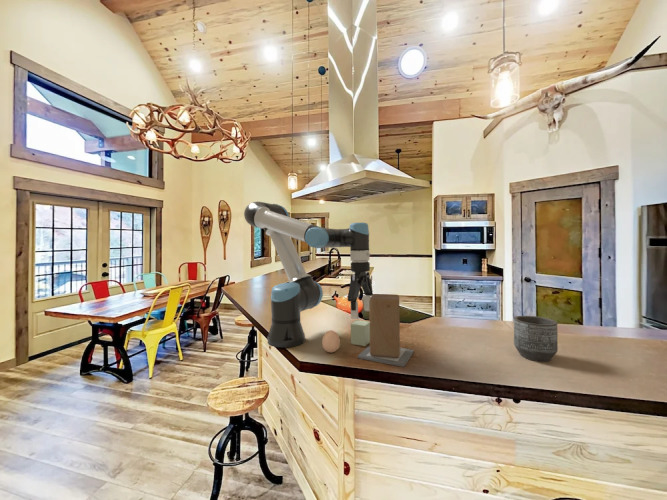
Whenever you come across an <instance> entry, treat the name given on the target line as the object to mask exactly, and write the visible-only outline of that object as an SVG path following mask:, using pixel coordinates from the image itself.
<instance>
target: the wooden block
mask: <svg viewBox="0 0 667 500" xmlns="http://www.w3.org/2000/svg"><path fill="white" fill-rule="evenodd" d="M370 296H371V298H370V300H369V311H368V312H369V313H368V314H369V322H370V343H369V345H370V354H371V355H372V356H381V357H394V358H397V357H399V355H400V348H401V344H400V343H401V341H400V340H401V337H400V336H401V334H400V333H401V331H400V323H401V322H400V296H399V295H398V294H389V293H388V294H386V293H385V294H384V293H380V294H379V293H373V295H370Z"/></svg>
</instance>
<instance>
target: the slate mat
mask: <svg viewBox="0 0 667 500" xmlns="http://www.w3.org/2000/svg"><path fill="white" fill-rule="evenodd" d="M413 354H414V349H409V348H404V347H400V355H399V357H397V358H394V357H381V356H372V355H371V354H370V344H368V345H367V346H366V348H365V349H364V350H362V351H361V352H360V353H359V354H358V355H357V359H359V360H367V361H371V362H375V363H381V364H386V365H391V366H397V367H401V368H405V366H406V365H407V363H408V362H409V360H410V359H411V357H412V355H413Z"/></svg>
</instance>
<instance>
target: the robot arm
mask: <svg viewBox="0 0 667 500" xmlns="http://www.w3.org/2000/svg"><path fill="white" fill-rule="evenodd" d="M243 217H244V219H245V221H246V223H247V224H248V225H250V226H252V227H254V228H258V229H263V230H264V232H265V235H266V236H269V237H270V239H271V241H272V244H273V246H274V248H275V251H276V253H277V255H278V258H279V260H280V262H281V265H282V267H283V270H284V272H285V274H286V277H287V279H288V282H284V283H283V282H282V283H279V284H276V285H274V286H272V289H271V295H270V304H271V311H270V312H271V325H270V328H269V332H268V335H267V344H268V345H269V346H271V347H274V348H292V347H297V346H300V345H302V344H303V343H304V342H306V341H305V340H306V335H305V332H304V327H303V326H302V322H301V312H303V311H306V310H311V309H314V308H315V307H317V306H318V305H320V303H321V302H322V300H323V296H324V292H323V288H322V286H321V285H320V283H318V282H316V281H315V280H314V279H313V277H312V275H311V274H309V273H307V272H306V269H305V267H304V265H303V262H302V260H301V258H300V256H299V254H298V251H297V249H296V246H295V244H294V243H293V239H295V240H297V241H298V240H299V241H300V242H304V243H306V244H307V245H308V246H309V247H310V248H315V249H322V248H323V249H324V248H332V249H335V248H349V249H350V251H349V253H350V271H351V272H352V273H353V272H354V274H351V275H350V282H349V288H348V295H347V302H350V319H354V320H355V319H356V320H359V302H358V298H359V293H360V290H361V288H362V291H363V293H364V296H363V306H364V307H363V311H364V312H369V300H370V298H371V296H372V295H373V294H374V293H373V292H374V291H373V287H372V282H371V278H370V270H371V268H370V267H371V266H370V263H371V262H369V261H370V256H371V252H370V231H369V229H370V228H369V225H368V223H366V222H351V223H350V224H349V228H326V227H323V226H322V227H321V226H318V225H315V224H311V223H309V222H306V221H302V220H299V219H297V218H294V217H291V216H290V215H289V212H288V210H287V209H286V208H285V207H284V206H282V205H279V204H276V203H270V202H269V203H268V202H263V201H252V202H251V203H248V204H247V206H246V207H245V208H244V212H243Z"/></svg>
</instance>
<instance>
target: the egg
mask: <svg viewBox="0 0 667 500" xmlns="http://www.w3.org/2000/svg"><path fill="white" fill-rule="evenodd" d="M321 345H322V348H323V350H324V351H326V352H328V353H335V352H337V350H338V349H339V348H340V345H341V339H340V336H339V334H338V333H337V332H336V331H334V330H330V329H329V330H327V331H326V332H325V333H324V335H323V337H322V339H321Z"/></svg>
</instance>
